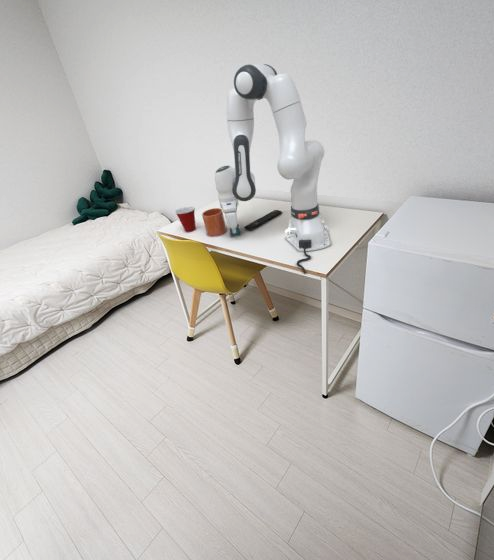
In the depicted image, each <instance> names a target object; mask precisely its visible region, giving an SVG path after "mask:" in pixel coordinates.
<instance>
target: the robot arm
mask: <svg viewBox="0 0 494 560" xmlns="http://www.w3.org/2000/svg"><path fill="white" fill-rule="evenodd" d="M233 86H234V87H233V88H231V89H230V90H229V91H228V93H227V97H226V123H227V130H228V134H229V138H230V142H231V146H232V150H233V155H234V156H233V157H234V167H232V166H231V165H224V166H221V167H219V168H217V169H216V171H215V172H214V181H215V187H216V190H217V193H218V202H219V206H220V207H219V208H220V209H222V212H223V214H224V216H225V219H226V222H227V225H228V228H229V229H230V228H232V232H233V233H236V227H237V224H238V219H237V218H238V217H237V211H238V206H239V205H240V203H239V202H249V201H251V200H252V199H253V198H254V197H255V195H256V194H257V193H256V192H257V189H256V177H255V175H254V174H253V173H252V172H251V157H250V156H251V154H250V153H251V147H252V141H253V137H254V130H255V115H254V108H255V107H254V106H255V103H256V101H261V100H262V99H266V101H267V102H268V104H269V107H270V110H271V113H272V116H273V119H274V123H275V127H276V130H277V134H278V141H279V156H278V160H277V162H276V163H277V164H276V167H277V171H278V173H279V175H280V176H281V177H282V179H285V180H293V181H292V184H291V186H290V190H289V192H290V204H291V206H290V214H291V217H290V219H288V228H287V229H286V230H285V231H284V232H285V233H288V234H287V235H285V239H286V240H287V241H288V242H289V243H290V244H291V245H292V246H293V247H294V248H295V249H296V250H297V251H298V252H303V254H304V256H306V258H301V259H298V260H297V262H296V265H297V266H298V267H300V268H301V269H302V271H303V272H302V273H303V274H304V275H305V274H306V273H307V272H306V268H305V267H304V266H303V265H302V264H300V263H301V262H303V261H308V260H310V259H311V258H312V256H311V255H309V254H308V253H307V252H311V251H318V250H322V249H325V248H327V247H330V246H331V239H330V236H329V233H328V225H327V224H324V223H325V219H324V218H322V213H320V205H319V202H318V181H319V175H320V169H321V165H322V161H323V159H324V157H325V148H324V145H323V144H322V143H321V142H320V141H318V140H315V139H313V140H312V139H309V140H306V138H305V136H306V135H305V134H306V128H307V120H306V116H305V111H304V108H303V104H302V101H301V97H300V94H299V91H298V89H297V87H296V84H295V81H294V79H293V77H292V76H291V75H290V74H289V73H285V72H282V73H278V72H277V70H276V69H275V68H274V67H273V66H271V65H269V64H265V63H264V64H262V63H251V64H245V65H243V66H241V67H239V69H237V71H236V72H235V74H234V77H233Z"/></svg>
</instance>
